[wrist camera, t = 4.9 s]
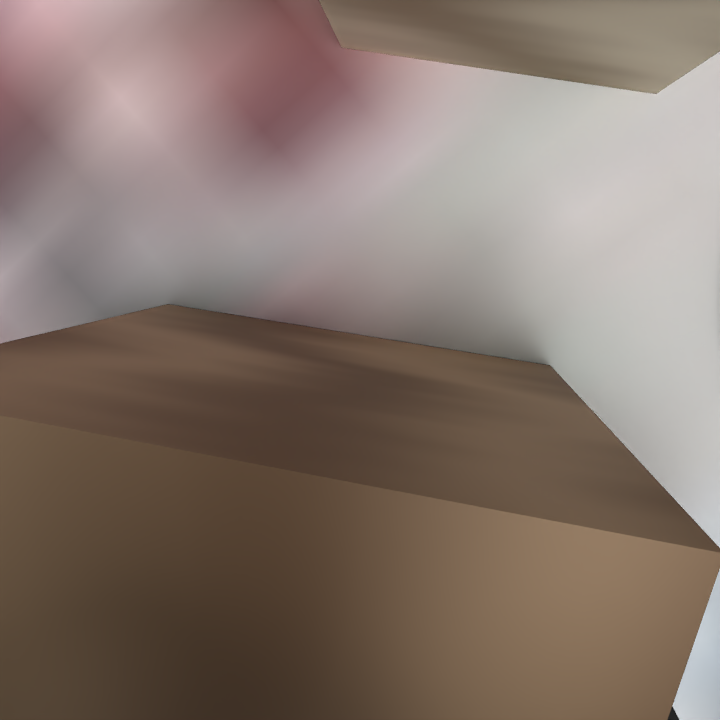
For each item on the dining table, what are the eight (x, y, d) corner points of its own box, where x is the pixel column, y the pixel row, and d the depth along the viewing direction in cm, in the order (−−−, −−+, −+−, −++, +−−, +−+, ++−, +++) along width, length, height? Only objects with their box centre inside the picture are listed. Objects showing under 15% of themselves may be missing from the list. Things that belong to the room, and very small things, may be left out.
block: (153, 620, 16) (-102, 963, 9) (168, 304, 14) (-168, 383, 6) (474, 693, 15) (515, 1159, 7) (550, 365, 13) (724, 553, 5)
